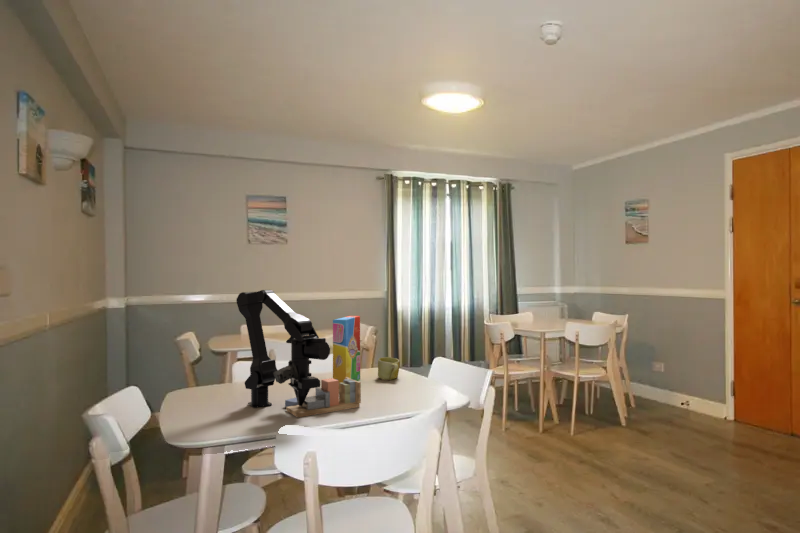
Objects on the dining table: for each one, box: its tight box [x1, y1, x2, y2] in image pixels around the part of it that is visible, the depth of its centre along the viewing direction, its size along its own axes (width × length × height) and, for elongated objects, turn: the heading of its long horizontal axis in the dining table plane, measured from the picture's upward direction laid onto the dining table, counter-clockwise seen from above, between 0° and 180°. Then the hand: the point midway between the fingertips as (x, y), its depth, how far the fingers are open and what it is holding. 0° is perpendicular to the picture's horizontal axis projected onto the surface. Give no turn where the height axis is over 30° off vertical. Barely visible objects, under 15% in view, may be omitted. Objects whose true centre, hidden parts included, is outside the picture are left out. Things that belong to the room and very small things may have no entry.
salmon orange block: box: [320, 377, 339, 406], centre depth 170 cm, size 5×4×8 cm
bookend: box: [301, 386, 330, 410], centre depth 167 cm, size 8×8×5 cm
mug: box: [377, 356, 401, 381], centre depth 217 cm, size 12×10×10 cm
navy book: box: [284, 397, 298, 408], centre depth 173 cm, size 5×7×2 cm
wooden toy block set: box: [285, 377, 362, 418], centre depth 169 cm, size 10×22×8 cm, turn 123°
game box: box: [332, 315, 361, 383], centre depth 206 cm, size 21×6×27 cm, turn 168°
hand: (300, 405), depth 164 cm, fingers closed
